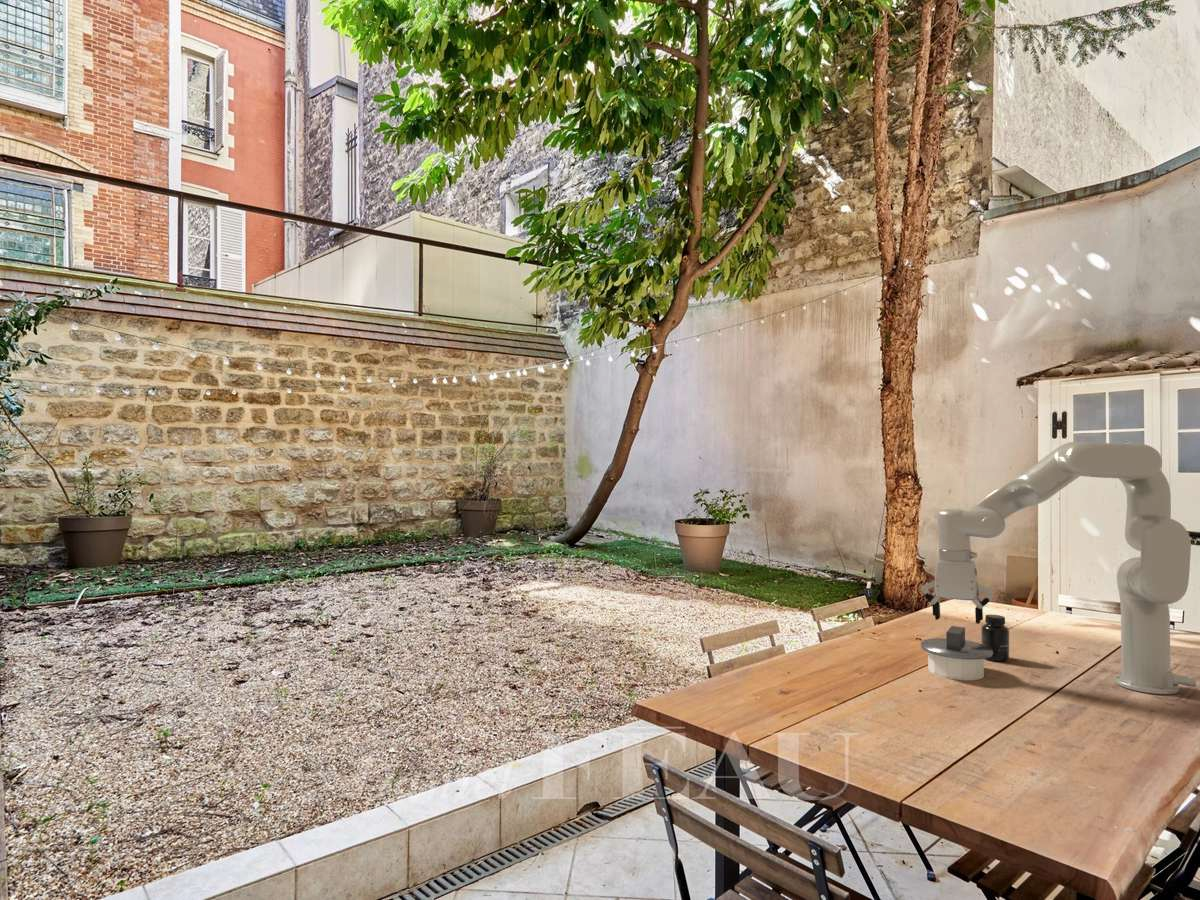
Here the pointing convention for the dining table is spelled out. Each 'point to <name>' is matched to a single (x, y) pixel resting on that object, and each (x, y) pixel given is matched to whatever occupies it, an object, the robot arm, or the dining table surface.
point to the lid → (956, 646)
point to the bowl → (956, 667)
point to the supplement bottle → (996, 637)
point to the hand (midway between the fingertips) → (957, 620)
